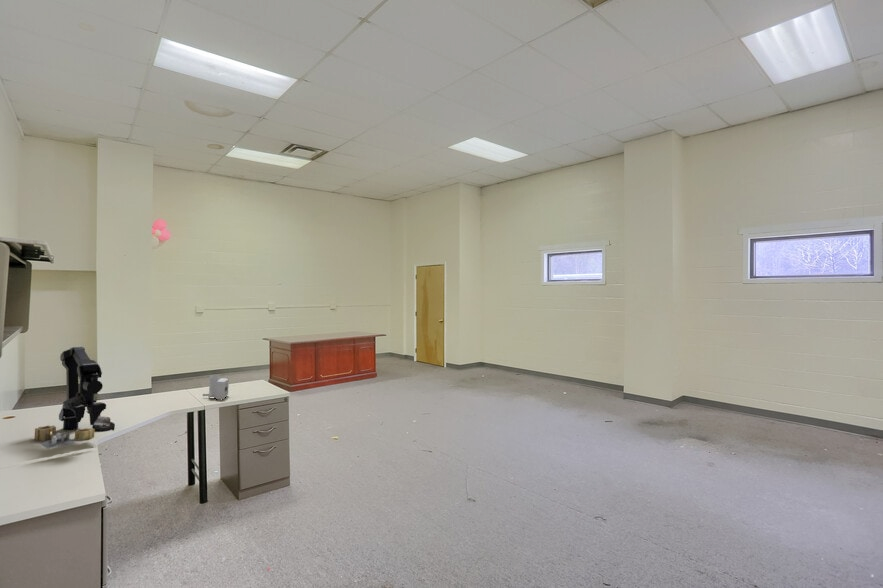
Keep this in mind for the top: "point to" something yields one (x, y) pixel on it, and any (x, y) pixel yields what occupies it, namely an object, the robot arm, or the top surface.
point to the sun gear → (61, 436)
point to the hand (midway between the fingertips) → (85, 423)
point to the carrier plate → (48, 443)
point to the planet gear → (84, 434)
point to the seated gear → (44, 433)
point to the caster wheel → (103, 424)
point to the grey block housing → (218, 387)
